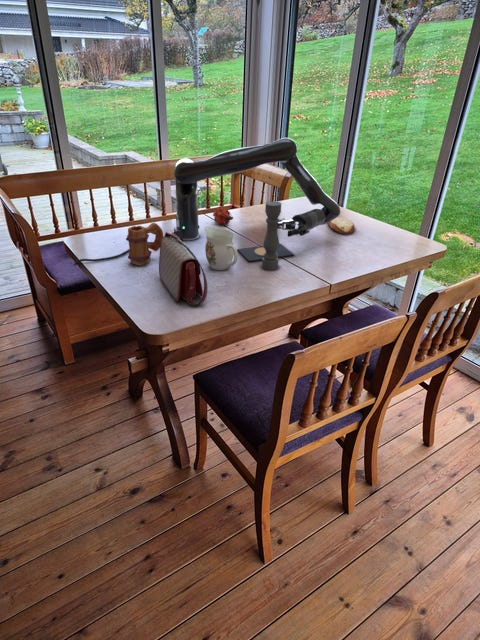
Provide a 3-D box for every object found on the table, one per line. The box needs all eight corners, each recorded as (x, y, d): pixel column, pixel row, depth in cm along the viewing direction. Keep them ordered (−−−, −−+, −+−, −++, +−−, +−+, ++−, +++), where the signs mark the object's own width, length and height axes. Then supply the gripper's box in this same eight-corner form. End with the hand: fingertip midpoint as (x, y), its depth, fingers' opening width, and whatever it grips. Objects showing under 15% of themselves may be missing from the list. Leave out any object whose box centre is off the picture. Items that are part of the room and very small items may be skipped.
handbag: (212, 305, 149) (211, 256, 140) (181, 311, 145) (178, 261, 136) (184, 272, 171) (182, 228, 162) (157, 276, 167) (153, 231, 158)
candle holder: (276, 271, 173) (280, 206, 160) (260, 269, 174) (263, 205, 161) (279, 264, 178) (283, 201, 165) (263, 263, 179) (266, 200, 166)
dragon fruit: (217, 222, 226) (228, 232, 218) (205, 214, 220) (216, 225, 212) (227, 207, 224) (239, 218, 216) (215, 199, 218) (227, 210, 210)
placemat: (249, 262, 180) (249, 260, 179) (237, 250, 190) (237, 248, 190) (293, 255, 186) (294, 254, 186) (280, 244, 197) (280, 243, 196)
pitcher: (225, 279, 166) (225, 243, 159) (196, 263, 178) (194, 230, 171) (247, 271, 173) (248, 236, 165) (217, 256, 184) (217, 224, 177)
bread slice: (329, 218, 229) (330, 211, 227) (363, 225, 220) (364, 218, 218) (313, 227, 216) (313, 220, 214) (347, 236, 207) (349, 228, 205)
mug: (131, 268, 173) (127, 231, 165) (125, 261, 179) (121, 224, 171) (167, 262, 179) (165, 225, 171) (161, 254, 185) (158, 219, 177)
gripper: (291, 208, 185) (265, 217, 174) (320, 216, 176) (295, 226, 166) (290, 226, 189) (265, 235, 178) (318, 235, 180) (293, 245, 170)
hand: (279, 231), depth 172 cm, fingers open, 8 cm apart
